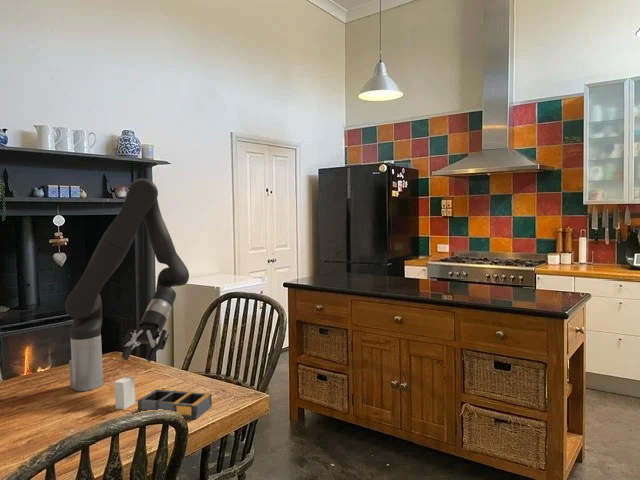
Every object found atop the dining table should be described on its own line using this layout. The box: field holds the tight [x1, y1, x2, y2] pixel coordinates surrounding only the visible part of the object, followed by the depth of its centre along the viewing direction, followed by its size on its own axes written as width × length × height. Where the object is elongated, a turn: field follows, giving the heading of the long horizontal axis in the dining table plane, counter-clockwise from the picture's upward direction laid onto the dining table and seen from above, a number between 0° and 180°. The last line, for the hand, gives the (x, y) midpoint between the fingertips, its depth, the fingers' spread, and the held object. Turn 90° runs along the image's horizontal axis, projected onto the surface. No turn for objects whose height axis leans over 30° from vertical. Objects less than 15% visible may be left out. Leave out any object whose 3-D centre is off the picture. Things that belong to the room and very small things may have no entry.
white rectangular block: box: [113, 376, 136, 410], centre depth 141 cm, size 3×5×8 cm, turn 165°
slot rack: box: [137, 389, 213, 420], centre depth 136 cm, size 19×9×4 cm, turn 75°
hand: (136, 359), depth 146 cm, fingers open, 8 cm apart
